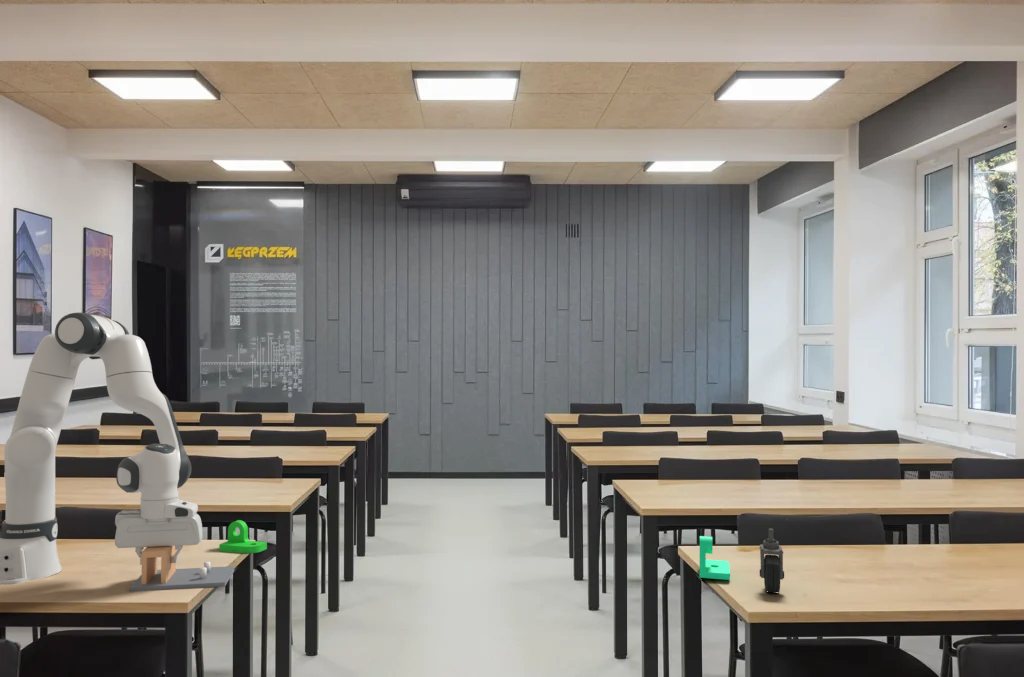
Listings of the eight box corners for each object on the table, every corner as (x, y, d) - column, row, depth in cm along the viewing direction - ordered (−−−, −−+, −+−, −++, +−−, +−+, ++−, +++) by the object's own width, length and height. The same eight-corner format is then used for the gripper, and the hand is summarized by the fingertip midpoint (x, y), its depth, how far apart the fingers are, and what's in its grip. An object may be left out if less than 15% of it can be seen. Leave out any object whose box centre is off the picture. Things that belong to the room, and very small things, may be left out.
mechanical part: (219, 551, 221) (219, 524, 221) (231, 545, 227) (232, 519, 227) (255, 554, 218) (255, 526, 218) (266, 548, 224) (267, 522, 224)
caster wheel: (782, 587, 189) (782, 527, 189) (785, 599, 180) (785, 536, 180) (758, 585, 191) (758, 526, 191) (760, 597, 181) (761, 535, 182)
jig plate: (129, 593, 182) (129, 577, 182) (145, 576, 196) (145, 561, 196) (224, 588, 186) (225, 572, 186) (234, 571, 200) (234, 556, 200)
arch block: (141, 584, 184) (141, 551, 184) (152, 572, 194) (152, 541, 194) (165, 583, 185) (166, 550, 186) (175, 571, 195) (175, 540, 195)
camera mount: (730, 584, 192) (730, 544, 192) (699, 581, 194) (699, 541, 194) (728, 570, 204) (728, 532, 204) (699, 568, 206) (699, 530, 206)
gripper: (111, 513, 185) (110, 569, 185) (199, 509, 189) (198, 564, 189) (119, 507, 191) (118, 561, 191) (204, 504, 195) (203, 557, 195)
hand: (159, 563), depth 190 cm, fingers closed on arch block, 6 cm apart
